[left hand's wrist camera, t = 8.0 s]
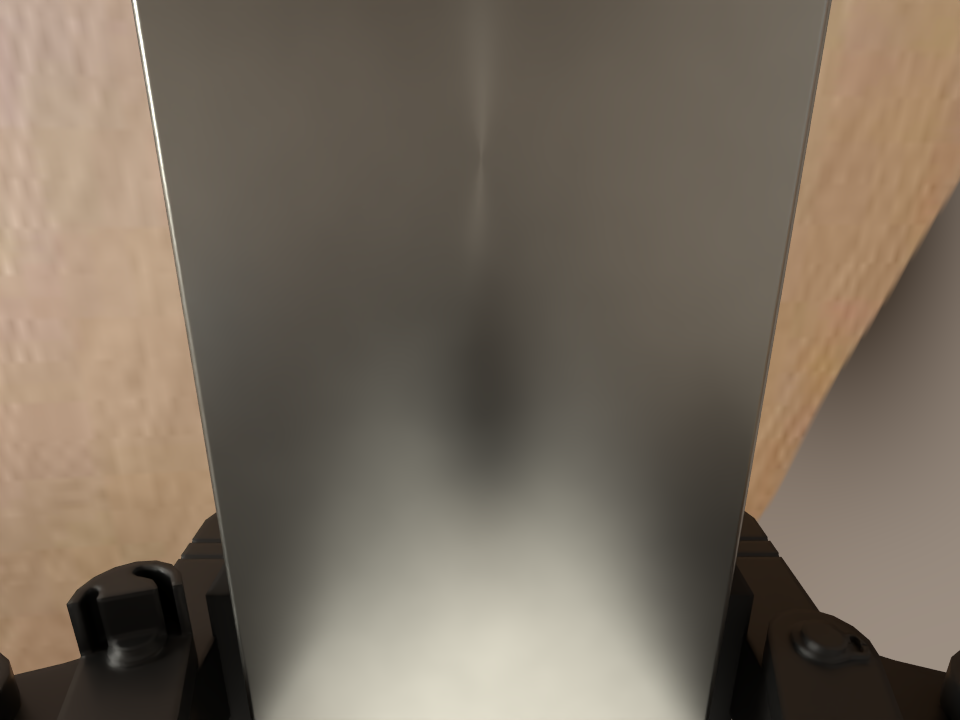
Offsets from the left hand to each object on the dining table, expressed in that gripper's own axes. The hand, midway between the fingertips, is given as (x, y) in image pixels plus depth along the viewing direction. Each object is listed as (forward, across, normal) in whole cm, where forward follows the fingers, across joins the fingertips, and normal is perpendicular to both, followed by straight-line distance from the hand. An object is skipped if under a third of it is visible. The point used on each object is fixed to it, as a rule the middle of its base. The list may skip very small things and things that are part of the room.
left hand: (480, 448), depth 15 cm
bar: (+1, 0, -7) cm, 7 cm away
